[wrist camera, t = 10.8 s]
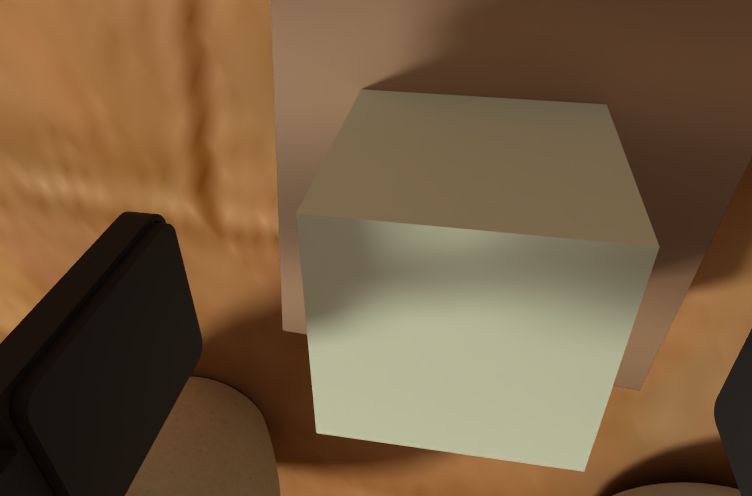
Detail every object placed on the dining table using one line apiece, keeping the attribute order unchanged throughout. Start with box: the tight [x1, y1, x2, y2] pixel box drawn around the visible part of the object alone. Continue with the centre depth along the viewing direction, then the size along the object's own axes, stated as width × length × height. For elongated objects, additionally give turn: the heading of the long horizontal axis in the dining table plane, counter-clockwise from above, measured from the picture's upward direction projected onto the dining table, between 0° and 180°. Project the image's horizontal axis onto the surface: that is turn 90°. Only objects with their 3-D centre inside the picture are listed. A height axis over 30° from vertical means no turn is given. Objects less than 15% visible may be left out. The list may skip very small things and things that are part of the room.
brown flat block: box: [271, 0, 752, 391], centre depth 15 cm, size 10×10×4 cm
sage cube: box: [296, 89, 659, 472], centre depth 12 cm, size 5×5×5 cm
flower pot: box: [125, 376, 280, 496], centre depth 23 cm, size 10×10×7 cm
